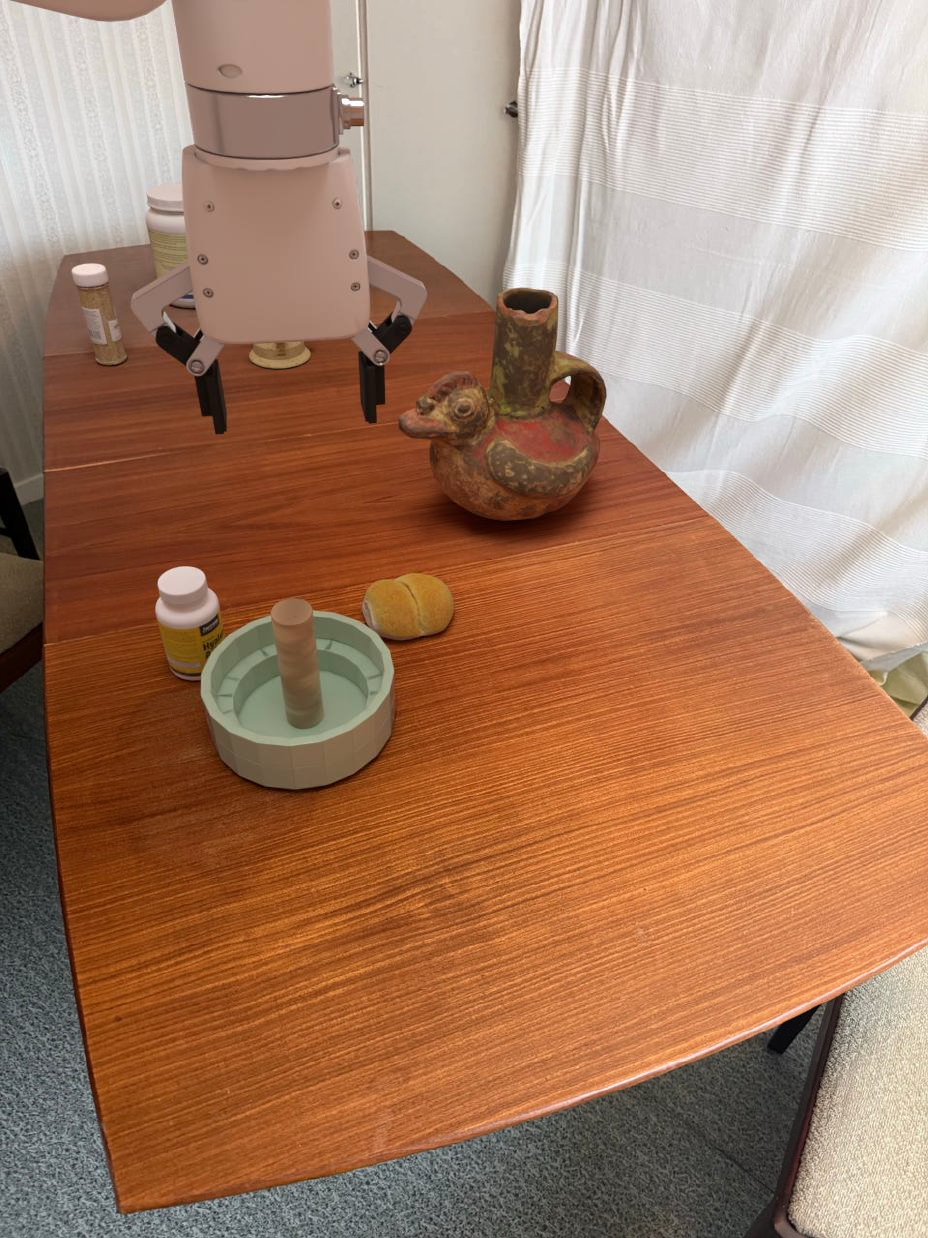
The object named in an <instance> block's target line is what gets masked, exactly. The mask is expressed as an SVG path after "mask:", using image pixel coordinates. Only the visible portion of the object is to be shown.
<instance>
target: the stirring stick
mask: <svg viewBox="0 0 928 1238" xmlns="http://www.w3.org/2000/svg"><path fill="white" fill-rule="evenodd" d="M313 610H314V609H313V607H312V605H311V604H310V603H309V602H308V601H307V600H305V599H303V598H297V597H292V598H291V597H289V598H285V599H282V600H280V601H278V602H276V603H275V604H274V605H273V606H272V608H271V610H270V615H271V620H272V626H273V633H274V639H275V646H276V652H277V659H278V665H279V672H280V678H281V684H282V691H283V697H284V704H285V710H286V717H287V721H288V723H289V724H290V725H291V726H293V727H295V728H298V729H309V728H312V727H314V726H316V725H318V724H319V723H320V722H321V721H322V719H323V716H324V709H323V700H322V691H321V682H320V673H319V664H318V655H317V645H316V636H315V627H314V618H313Z"/></svg>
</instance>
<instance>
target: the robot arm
mask: <svg viewBox="0 0 928 1238" xmlns="http://www.w3.org/2000/svg"><path fill="white" fill-rule="evenodd" d="M9 1H11V2H15V3H19V4H23V5H26V6H31V7H35V8H39V9H43V10H47V11H50V12H55V13H59V14H63V15H66V16H71V17H75V18H80V19H85V20H89V21H95V22H106V23H115V22H125V21H132V20H135V19H137V18H140V17H144V16H147V15H148V14H150V13H152V12H153V11H155V10H156V9H158V8H159V7H161V6H163V5H164V4H165V3H166V1H167V0H9ZM171 6H172V7H171V8H172V13H173V18H174V26H175V32H176V38H177V44H178V45H177V46H178V51H179V57H180V64H181V70H182V77H183V81H184V89H185V97H186V102H187V107H188V113H189V114H188V115H189V120H190V127H191V133H192V140H193V144H189V145H187V146H185V147H183V149H182V150H181V151H182V152H181V154H182V155H181V183H182V198H183V210H184V222H185V232H186V242H187V251H188V259H189V260H188V261H186V262H184V263H183V264H181V265H179V266H178V267H176V268H174V269H173V270H171V271H169V272H168V273H166V274H164V275H163V276H161V277H159V278H158V279H157V278H156V279H154V280H153V281H151V282H150V283H148V284H146V285H145V286H143V287H141V288H140V289H138V290H136V291H135V292H134V293H133V294H132V296H131V300H130V309H131V312H132V313H133V314H134V316H135V317H136V318H137V319H138V320H139V322H140V323H141V325H142V326H143V327H144V328H145V329H146V330H147V332H148V333H149V334H150V335H151V336H152V337H153V338H154V339H155V343H156V345H157V347H159V348H160V349H162V351H164V352H166V353H167V354H169V355H170V356H171V357H172V358H174V359H175V360H177V361H178V362H179V363H181V364H182V365H183V366H185V367H186V371H187V372H188V373H189V374H190V375H192V376H193V378H194V382H195V383H194V384H195V387H196V393H197V397H198V403H199V408H200V413H201V414H200V415H201V417H203V418H205V417H211V418H212V422H213V423H212V424H213V429H214V433H215V435H225V432H228V412H227V405H226V404H227V403H226V398H225V392H224V386H223V382H222V375H221V368H220V362H219V359H218V358H217V357H218V356H219V355H220V353H221V352H222V351H223V349H224V348H225V346H226V345H253V344H262V343H283V342H302V341H304V342H318V341H319V342H320V341H332V340H343V339H345V340H346V339H349V340H351V341H352V342H353V344H354V345H356V347H357V348H358V349H359V350H360V351H358V352H357V354H358V356H357V357H358V359H357V360H358V375H359V378H358V379H359V397H360V399H359V400H360V406H361V410H362V413H363V417H364V422H365V423H368V424H369V425H370V424H371V425H372V424H377V423H378V416H377V415H378V414H377V413H378V412H377V406H384V405H386V376H385V375H386V374H385V372H386V371H385V365H387V364H388V362H389V361H390V359H391V355H392V354H393V353H394V352H395V350H396V349H397V348H399V347H400V346H401V345H402V343H404V341H405V340H406V339H407V338H408V337H409V336H410V335H411V333H412V330H413V326H414V323H415V322H416V321H417V319H418V317H419V315H420V313H421V311H422V309H423V307H424V305H425V303H426V301H427V300H428V297H429V296H428V290H427V289H426V287H425V285H424V283H423V282H422V281H421V280H419V279H417V278H416V277H413V276H411V275H409V274H407V273H405V272H402V271H401V270H398V269H397V268H395V267H392V266H391V265H389V264H387V263H385V262H382V261H381V260H378V259H376V258H375V257H373V256H372V255H371V256H370V255H368V254H367V246H366V235H365V228H364V227H365V226H364V220H363V214H362V209H361V203H360V195H359V188H358V178H357V174H356V168H355V165H354V160H353V157H352V153H351V149H350V147H349V146H347V145H345V144H342V143H340V136H341V135H342V136H343V135H344V130H351V127H365V105H364V99H363V97H349V94H342V92H341V90H340V88H337V86H336V85H335V69H334V68H335V66H334V65H335V64H334V52H333V31H332V30H333V29H332V11H331V0H171ZM370 286H372V287H374V288H376V289H377V290H380V291H382V292H384V293H387V294H388V295H390V296H393V297H395V298H397V302H396V304H395V307H394V310H393V311H391V312H390V314H388V315H387V317H385V319H384V320H383V321H382V322H381V323H380V324H379V325H378V326H376V325H375V324H374V323H373V322H372V321H371V295H370ZM192 291H193V296H194V302H195V308H194V309H195V312H196V316H197V321H198V325H199V327H198V329H197V330H196V331H195V333H194V334H193V335H191V334H190V333H189V332H187V331H186V330H185V329H183V328H182V327H181V326H180V325H178V324H177V323H176V322H174V321H172V320H171V319H170V318H169V315H168V314H167V312H166V311H165V308H167V307H169V306H170V305H172V303H173V302H175V301H177V300H178V299H180V298H182V297H183V296H185V295H187V294H188V293H190V292H192Z"/></svg>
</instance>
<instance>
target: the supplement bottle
mask: <svg viewBox="0 0 928 1238" xmlns="http://www.w3.org/2000/svg"><path fill="white" fill-rule="evenodd" d="M157 589H158V594H159V597H158V599H157V601H156V603H155V608H154V610H155V617H156V621H157V625H158V629H159V632H160V636H161V640H162V645H163V648H164V653H165V655H166V660H167V664H168V667H169V669H170V671H171V672H172V673H173V674H174V676H176V677H178V678H180V679H183V680H187V681H201V674H202V671H203V669H204V667H205V665H206V663H207V661H208V658H209V656H210V654H211V652H212V651H213V650H214V649H215V648H216V647H217V646H218V645H219V644H220V643H221V642H222V641H223V640H224V639H225V638H226V637H227V636H226V633H225V627H224V622H223V616H222V611H221V606H220V602H219V597H218V596H217V594H216V592H214V591H213V590H212V589H211V588H210V587H208V582H207V577H206V574H205V573H204V571H202V570H201V569H199V568H198V567H194V566H188V565H187V566H186V565H185V566H183V565H181V566H177V567H172V568H171V569H168V570H167V571H165V572H163V573H162V574H161V575H160V576H159V578H158V580H157Z"/></svg>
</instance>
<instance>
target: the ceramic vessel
mask: <svg viewBox="0 0 928 1238" xmlns="http://www.w3.org/2000/svg"><path fill="white" fill-rule="evenodd" d="M495 307H496V308H495V318H494V319H495V320H494V335H493V336H494V337H493V348H492V360H491V372H490V380H489V381H490V382H489V389H488V392H487V393H486V391H485V388H484V387H483V385H482V384H481V383H480V381H479V380H478V378H477V377H476V376H475V374H473V373H472V372H470V371H469V370H468V371H467V370H455V371H452V372H448V373H446V374H444V375H443V376H442V377H439V378H438V379H437V380H436V381H435V382H434V383H433V384H431V385H430V387H429V389H428V390H427V392H426V393H425V394H424V395H421V396H420V397H419V398H418V399H417V400H416V401H415V407H414V408H411V409H409V410H407V411H404V412H402V413H401V415H400V416H399V417H398V418H397V422H398V430H399V431H400V432H401V433H403V434H404V435H405V436H407V437H409V438H410V439H414V440H418V439H419V440H420V439H421V440H430V443H429V449H428V452H429V453H428V459H429V465H430V470H431V473H432V476H433V477H434V479H435V481H436V483H437V485H438V487H439V488H440V489H441V490H442V492H443V493H444V494H445V495H446V496H447V497H448V498H449V499H450V500H452V501H453V502H454V503H455V504H457V505H458V506H460V507H461V508H463V509H465V510H466V511H468V512H470V513H471V514H473V515H476V516H478V517H481V518H484V519H489V520H493V521H501V522H508V521H520V520H521V521H522V520H532V519H536V518H539V517H541V516H544V515H545V514H548V513H552V512H556V511H557V510H560V509H561V508H562V507H563V506H566V505H567V504H568V503H570V501H571V500H573V499H574V498H575V497H576V496H577V495H578V493H579V492H580V490H581V489H582V488H583V486H585V484H586V482H587V481H588V479H589V478H590V476H591V475H592V473H593V472H594V469H595V468H596V465H597V463H598V460H599V456H600V452H601V439H600V437H599V436H600V435H598V433H597V432H595V431H596V429H597V427H598V425H599V423H600V420H601V418H602V416H603V412H604V409H605V405H606V401H607V398H608V397H607V387H606V383H605V380H604V378H603V376H602V375H601V374H600V372H599V370H597V368H596V367H594V366H593V365H591V364H590V363H588V362H587V361H584V360H583V359H581V358H579V357H577V356H575V355H573V354H570V353H566V352H564V351H560V350H557V342H558V328H559V297H558V295H557V294H555V293H554V292H552V291H549V290H546V289H538V288H531V287H514V288H508V289H504V290H502V291H500V292H499V293H498V295H497V297H496V306H495ZM569 377H570V380H569V387H568V390H567V393H566V395H565V397H564V398H563V399H562V401H561V402H556V401H553V400H551V398H550V394H551V392H552V388H553V386H554V385H555V384H557V383H559V382H560V381H561V380H564V379H566V378H569Z"/></svg>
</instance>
